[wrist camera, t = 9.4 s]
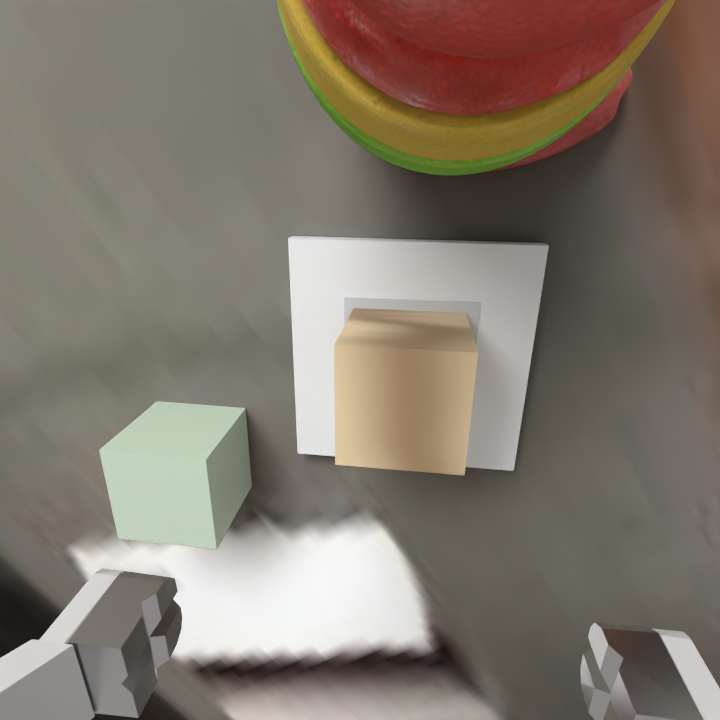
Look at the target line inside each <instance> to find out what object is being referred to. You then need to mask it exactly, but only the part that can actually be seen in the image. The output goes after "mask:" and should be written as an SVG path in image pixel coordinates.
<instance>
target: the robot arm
mask: <svg viewBox="0 0 720 720" xmlns="http://www.w3.org/2000/svg"><path fill="white" fill-rule="evenodd" d="M176 593H177V587H176V583H175V579H174V578H170V577H163V576H155V575H148V574H141V573H134V572H126V571H117V570H109V569H101V570H99V571H98V572H96V573H94V574H93V575H92V576H91V578H90V579H89V580H88V581H87V582H86V584H85V585H84V586H83V587H82V588H81V590H80V591H79V592H78V593H77V595H76V596H75V597H74V598H73V599H72V601H71V602H70V603H69V604H68V605H67V607H66V608H65V609H64V610H63V612H62V613H61V614H60V615H59V616H58V618H57V619H56V620H55V621H54V622H53V624H52V625H51V626H50V627H49V628H48V630H47V631H46V632H45V633H44V635H43V636H42V637H41V638H40V639H39V640H34V639H31V640H30V641H28V642H26V643H25V644H23V645H21V646H20V647H18V648H16V649H15V650H13V651H11V652H10V653H8V654H6V655H5V656H3V657H1V658H0V720H91V719H92V718H93V717H94V716H95V714H94V713H98V714H108V715H117V716H126V717H135V718H139V716H140V714H141V712H142V710H143V708H144V706H145V705H146V703H147V701H148V699H149V697H150V695H151V693H152V691H153V689H154V687H155V686H156V684H157V682H158V681H157V674H156V669H157V668H158V667H159V666H161V665H162V664H163V663H165V662H166V661H167V660H168V659H170V657H171V655H172V653H173V651H174V649H175V647H176V644H177V641H178V638H179V634H180V631H181V623H182V614H181V608H180V606H179V605H178V604H177V603H176V602H175V601H174V600H173V598H174V596H175V594H176ZM588 638H589V641H590V644H591V647H592V648H591V649H590V650H588V651H587V652H585V653H584V654H583V658H582V663H581V685H582V691H583V696H584V700H585V703H586V707H587V710H588V713H589V714H590V715H591V716H592V717H593V718H594V719H595V720H720V688H719V686H718V685H717V683H716V681H715V680H714V678H713V676H712V675H711V673H710V671H709V669H708V668H707V666H706V664H705V663H704V661H703V659H702V658H701V656H700V654H699V652H698V651H697V649H696V647H695V646H694V644H693V642H692V641H691V639H690V637H689V636H687V635H686V634H685V633H684V632H681V631H671V630H662V629H651V628H647V627H636V626H626V625H615V624H605V623H594V624H593V625H592V626H591V628H590V631H589V635H588Z"/></svg>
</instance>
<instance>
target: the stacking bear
mask: <svg viewBox="0 0 720 720" xmlns="http://www.w3.org/2000/svg"><path fill="white" fill-rule="evenodd" d="M276 1H277V5H278V9H279V13H280V17H281V20H282V24H283V28H284V31H285V34H286V37H287V39H288V42H289V45H290V47H291V50H292V53H293V55H294V58H295V60H296V62H297V64H298V66H299V69H300V71H301V73H302V74H303V76H304V78H305V80H306V82H307V84H308V86H309V88H310V89H311V91H312V92H313V94H314V95H315V97H316V98H317V100H318V102H319V103H320V105H321V106H322V108H323V109H324V110H325V111H326V112H327V114H328V115H329V116H330V117H331V119H332V120H333V121H334V122H335V123H336V124H337V125H338V126H339V127H340V128H341V129H342V130H343V131H344V132H345V133H346V134H347V135H348V136H349V137H350V138H352V139H353V140H354V141H355V142H357V143H358V144H359V145H361V146H362V147H364V148H365V149H366V150H368V151H369V152H371V153H372V154H374V155H376V156H377V157H379V158H381V159H383V160H385V161H387V162H389V163H392V164H394V165H397V166H400V167H403V168H406V169H408V170H412V171H417V172H421V173H428V174H434V175H467V174H475V173H480V172H490V171H498V170H504V169H509V168H514V167H518V166H523V165H526V164H529V163H532V162H535V161H538V160H541V159H544V158H547V157H550V156H552V155H555V154H557V153H560V152H562V151H564V150H566V149H569V148H571V147H573V146H575V145H576V144H578V143H580V142H582V141H584V140H586V139H588V138H590V137H591V136H593V135H594V134H596V133H598V132H599V131H601V130H602V129H603V128H605V127H606V126H607V125H608V124H609V123H610V122H611V121H612V120H613V119H614V117H615V116H616V113H617V110H618V106H619V102H620V100H621V98H622V96H623V95H624V94H625V92H626V91H627V90H628V88H629V86H630V84H631V81H632V70H631V66H632V64H633V63H634V61H635V60H636V59H637V57H638V56H639V55H640V53H641V52H642V51H643V49H644V48H645V47H646V45H647V44H648V42H649V41H650V40H651V38H652V37H653V36H654V34H655V32H656V31H657V29H658V28H659V26H660V25H661V23H662V22H663V20H664V19H665V17H666V16H667V14H668V12H669V11H670V9H671V7H672V6H673V4H674V2H675V0H276Z"/></svg>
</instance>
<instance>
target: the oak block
mask: <svg viewBox="0 0 720 720" xmlns="http://www.w3.org/2000/svg"><path fill="white" fill-rule="evenodd" d="M477 359H478V350H477V347H476V344H475V340H474V337H473V334H472V331H471V327H470V324H469V321H468V317H467V314H466V313H455V312H432V311H410V310H388V309H365V308H353V310H352V312H351V314H350V316H349V318H348V320H347V322H346V323H345V325H344V327H343V329H342V331H341V333H340V335H339V337H338V339H337V340H336V342H335V344H334V387H335V465H346V466H358V467H370V468H382V469H394V470H406V471H418V472H430V473H442V474H454V475H465V467H466V458H467V449H468V440H469V431H470V422H471V413H472V404H473V395H474V386H475V377H476V368H477Z"/></svg>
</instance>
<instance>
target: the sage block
mask: <svg viewBox="0 0 720 720" xmlns="http://www.w3.org/2000/svg"><path fill="white" fill-rule="evenodd" d="M99 452H100V456H101V461H102V466H103V470H104V475H105V479H106V484H107V489H108V493H109V498H110V502H111V507H112V512H113V516H114V521H115V525H116V530H117V535H118V538H119V539H128V540H137V541H146V542H155V543H164V544H172V545H181V546H190V547H199V548H208V549H217V548H218V546H219V544H220V543H221V541H222V539H223V537H224V535H225V534H226V532H227V530H228V528H229V526H230V525H231V523H232V521H233V519H234V517H235V516H236V514H237V512H238V510H239V508H240V507H241V505H242V503H243V501H244V499H245V498H246V496H247V494H248V492H249V490H250V489H251V487H252V481H251V469H250V457H249V444H248V432H247V420H246V408H236V407H223V406H210V405H197V404H184V403H171V402H158V401H157V402H156V403H155V404H153V405H152V406H151V407H150V408H149V409H147V410H146V411H145V412H144V413H143V414H141V415H140V416H139V417H138V418H137V419H136V420H134V421H133V422H132V423H131V424H130V425H128V426H127V427H126V428H125V429H124V430H122V431H121V432H120V433H119V434H118V435H117V436H115V437H114V438H113V439H112V440H111V441H109V442H108V443H107V444H106V445H105V446H103V447H102V448H101V449H100V450H99Z"/></svg>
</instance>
